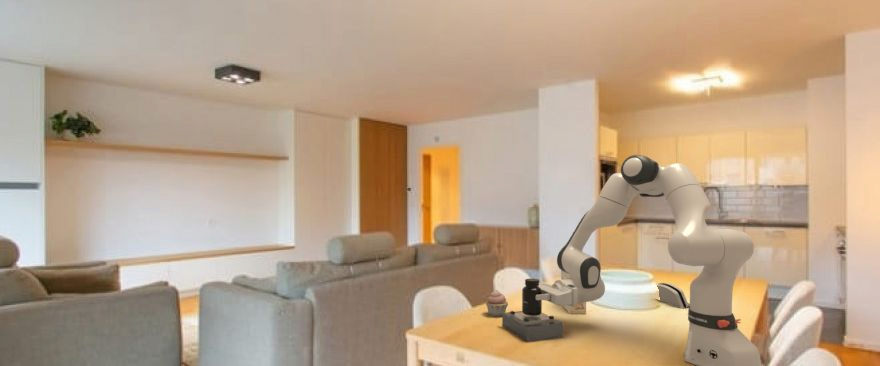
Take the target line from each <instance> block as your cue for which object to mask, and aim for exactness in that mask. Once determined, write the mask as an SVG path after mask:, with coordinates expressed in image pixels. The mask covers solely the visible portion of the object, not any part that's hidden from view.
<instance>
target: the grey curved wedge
mask: <svg viewBox="0 0 880 366" xmlns="http://www.w3.org/2000/svg"><path fill="white" fill-rule="evenodd" d="M656 285H657V287H658V289H659V297H660V300H659V301H660V302H662V301H663V303H665V304H668V305H671V306H673V307H676V308H679V309H685V307H686V308H688V309H689V308H690V302H689V303H688V300H687V297H686V296H685V293H684V291H683V290H682V289H681V288H680V287H678V286H676V285H674V284H672V283H670V282H661V283H657V284H656Z"/></svg>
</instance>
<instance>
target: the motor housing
mask: <svg viewBox="0 0 880 366" xmlns="http://www.w3.org/2000/svg"><path fill="white" fill-rule="evenodd" d="M501 317H502V320H501V321H502V322H501V324H502V328H504V329H506V330H507V331H509V332H510V333H511V334H514V335H515V336H517V337H519V338H520V339H522V341H525V342H526V343H530V342H531V343H532V342H538V341H539V342H540V341H546V340H547V341H548V340H555V339H562V338H564V323H563V322H562V321H560V320H558V319H557V318H555V316H553V315H547V314H546V313H543V312H542V313H541V314H540V315H537V316H530V315H525V314H523V312H522V310H521V311H520V310H519V311H518V310H517V311H514V310H510V311H509V312H505V313H502V316H501Z"/></svg>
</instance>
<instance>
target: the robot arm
mask: <svg viewBox="0 0 880 366" xmlns="http://www.w3.org/2000/svg"><path fill="white" fill-rule="evenodd" d="M637 195H639V196H640V197H643V198H646V197H647V198H648V197H650V198H651V197H652V198H661V197H665V200H666V201H667V204H668V206H669V209H670V211H671V213H672V216H673V219H674V223H675V226H674V227H675V229H674V232H673V234H671V236H670V237H669V239H668V242H667V250H668V253H669V255H670V257H671V259H672V260H673V261H674V262H675V263H677V264H680V265H685V266H690V267H703V268H702V270H701V272H700V273H699V275H698V276H696V277H695V278H694V279H693V280H692V281H691V282H690V285H689V304H690V308H689V307H688V309H687V311H688V313H687V321H688V323H689V324H688V325H689V326H688V333H687V340H686V345H685V348H684V352H683V356H684V361H685V362H687V363H690V364H692V365H695V366H765V364H764V365H763V364H762V361H761V360H762V359H761V355H760V351H759V349H758V347H757V346H756V345H755V344H754V343H753V342H752V341H751V340H750V339H748V337H747V336H745V334H744V333H743V332H742V331H741V330H740V329H739V328H738V327H739V326H738V324H741V321H742V319H741V318H738V319H736V318H735V315H734V313H733V290H734V285H735V281H736V278H737V277H738V274H739V273H740V270H741V268H742V267H743V266H744V264H746V263H747V261H748V260H750V259H751V258H752V256H753V254H754V252H755V246H754V241H753V239H752V238H751V236H750V235H749V234H748V233H746V232H745V231H742V230H739V229H734V228H710V227H709V226H708V225H707V223H706V219H708V218H709V217H710V215H711V212H712V210H713V209H712V204H711V203H710V200H709V198H708V197H707V195H706V192H705V191H704V189H703V187H702V186H701V184H700V182H699V180H698V179H697V177H696V176H695V174H694V173H693V172H692V171H691V169H690V168H689V167H688V166H687V165H686V164H684V163H681V162H680V163H679V162H678V163H671V164H668V165H665V166H661V165H660V164H659V163H658V162H657V161H655V160H653V159H652V158H650V157H648V156H646V155H641V154H633V155H629V156H628V157H627V158H625V159H624V161H623V162H622V163H621V167H620V172H616V173H613V174H611V176H609V178H608V179H607V181H606V182H605V183H604V185H603V187H602V189H601V191H600V193H599V195H598V197H597V199H596V201H595V203H594V205H592V206H591V208H590V209H589V210H588V211H586V212H585V214H583V216H582V217H581V219H580V221H579V222H578V224H577V226H576V228H575V229H574V231H573V232H572V235H571V236H570V238H569V239H568V241H567V242H566V244H565V245H564V246H563V247H562V248H561V249H560V250H559V252H558V254H557V258H556V264H557V267H558V268H559V270H560V271H561V270H562V271H564V272H566V273H568V274H571V275H572V277H571V278H570V279H561V278H560V279H556V280H555V281H554V282H553V283H552V284H550V283H546V282H539V286H538V287H540V288H541V290H542V294H535V299H536V300H542V301H545V302H546V301H547V302H549V303H551V304H554V305H556V306H562V305H570V306H577V302H586V303H589V302H595V301H597V300H599V299H601V298H602V297H603V296H604V294H605V292H606V291H605V290H606V285H605V283H604V280H603V279H602V276H601V270H602V269H601V263H600V261H599V260H598V259H597V258H595V257H594V256H592V255H590V254H588V253H585V252H584V251H583V249H584V248H585V246H586V244H587V243H588V241H589V240H590V237H591V235H592V234H593V232H595V231H596V230H598V229H601V228H607V227H613V226H614V227H615V226H617V225H618V224H620V223H621V222H622V221H624V218H625V217H626V215H627V213H628V210H629V209H630V206H631V203H632V201H633V200H634V198H635V197H637Z"/></svg>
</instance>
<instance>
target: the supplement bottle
mask: <svg viewBox="0 0 880 366" xmlns="http://www.w3.org/2000/svg"><path fill="white" fill-rule="evenodd" d="M524 281H525V282H524V285H525V286H524V287H523V288H522V291H521V293H522V294H521V296H522V297H521V309H522V310H521V311H522V312H523V314H525V315H530V316H537V315H540V314H541V313H543V311H542V309H543V307H542V305H543V303H542V302H543V300H536V299H535V294H542V290H541V288H540V287H538V286H539V283H540V280H539V279H537V278H526V279H525V280H524Z"/></svg>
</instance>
